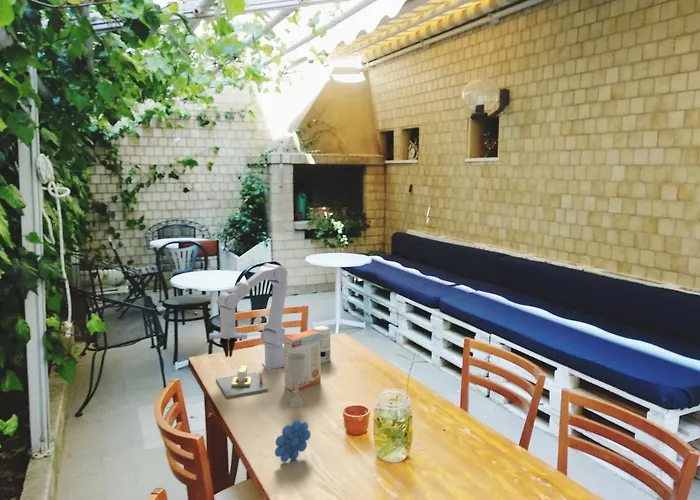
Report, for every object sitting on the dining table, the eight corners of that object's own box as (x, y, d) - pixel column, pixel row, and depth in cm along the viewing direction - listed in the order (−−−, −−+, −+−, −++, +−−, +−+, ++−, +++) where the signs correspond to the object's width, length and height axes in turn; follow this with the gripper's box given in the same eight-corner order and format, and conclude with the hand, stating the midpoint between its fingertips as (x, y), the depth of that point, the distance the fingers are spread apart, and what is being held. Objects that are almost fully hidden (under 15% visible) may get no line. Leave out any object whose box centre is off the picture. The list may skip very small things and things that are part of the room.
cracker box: (311, 378, 221) (311, 328, 218) (321, 382, 217) (321, 332, 214) (283, 387, 212) (283, 335, 209) (292, 392, 208) (292, 339, 204)
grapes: (303, 447, 167) (302, 410, 166) (314, 457, 162) (314, 419, 160) (268, 458, 161) (268, 420, 159) (279, 469, 155) (278, 430, 154)
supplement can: (309, 362, 239) (309, 329, 236) (315, 356, 246) (315, 324, 244) (326, 364, 236) (326, 331, 234) (332, 358, 244) (332, 326, 242)
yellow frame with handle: (250, 386, 210) (249, 377, 209) (231, 386, 209) (231, 377, 208) (252, 373, 222) (252, 365, 221) (235, 374, 221) (234, 365, 221)
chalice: (302, 409, 193) (302, 360, 191) (284, 407, 195) (284, 359, 192) (308, 400, 201) (308, 353, 198) (290, 398, 202) (290, 352, 199)
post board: (255, 374, 224) (255, 360, 224) (268, 391, 208) (268, 376, 208) (216, 380, 218) (215, 366, 217) (226, 398, 202) (226, 383, 201)
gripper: (206, 326, 210) (208, 359, 212) (244, 326, 210) (245, 359, 212) (211, 320, 217) (212, 353, 219) (247, 320, 217) (248, 353, 219)
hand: (228, 356), depth 216 cm, fingers closed
